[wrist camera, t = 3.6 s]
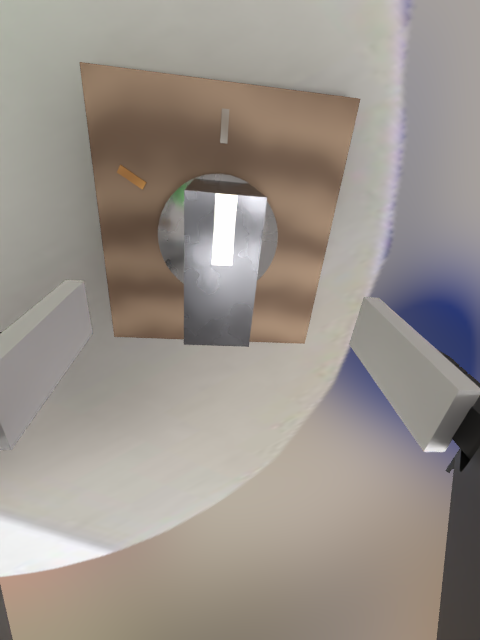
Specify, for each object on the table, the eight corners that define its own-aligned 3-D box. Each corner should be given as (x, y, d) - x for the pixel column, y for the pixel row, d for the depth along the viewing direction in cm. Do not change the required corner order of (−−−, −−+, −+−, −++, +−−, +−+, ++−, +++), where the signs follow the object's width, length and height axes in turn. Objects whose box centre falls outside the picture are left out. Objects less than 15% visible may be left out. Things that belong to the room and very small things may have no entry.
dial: (267, 291, 32) (291, 355, 22) (162, 286, 31) (136, 350, 21) (283, 179, 27) (325, 193, 17) (158, 167, 26) (120, 174, 15)
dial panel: (298, 330, 39) (304, 344, 36) (121, 323, 36) (113, 337, 33) (346, 104, 27) (361, 98, 24) (93, 72, 25) (78, 61, 22)
